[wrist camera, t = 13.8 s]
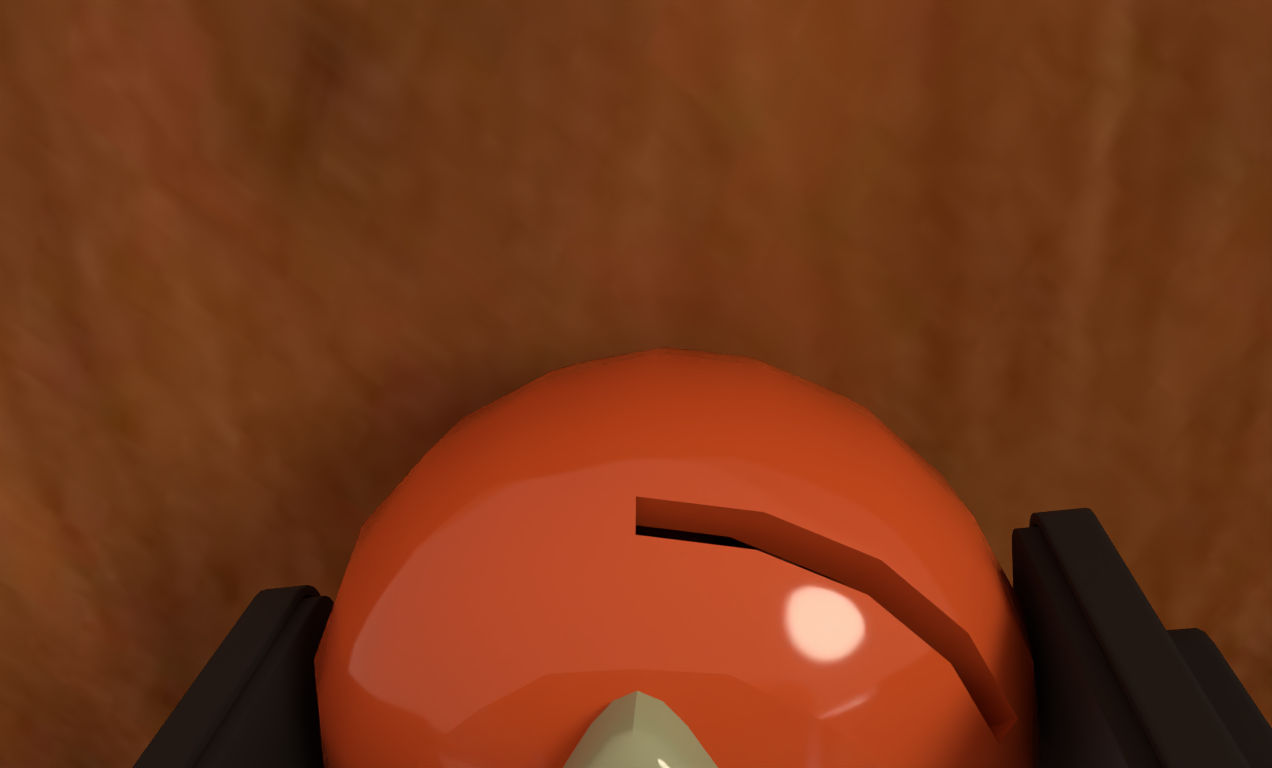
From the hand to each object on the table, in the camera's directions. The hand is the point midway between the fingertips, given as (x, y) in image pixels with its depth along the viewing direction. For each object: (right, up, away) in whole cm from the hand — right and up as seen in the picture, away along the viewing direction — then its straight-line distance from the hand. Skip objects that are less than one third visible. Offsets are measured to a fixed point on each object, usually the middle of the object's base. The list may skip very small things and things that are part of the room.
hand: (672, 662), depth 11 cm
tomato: (0, +2, +3) cm, 3 cm away
